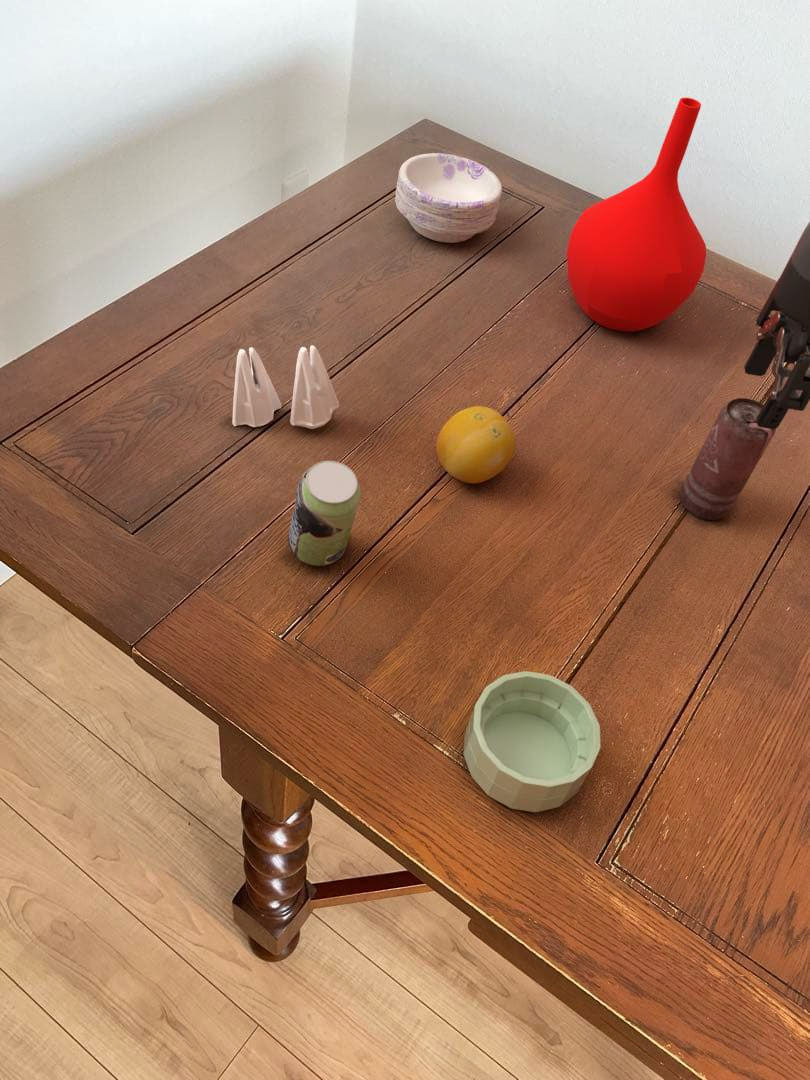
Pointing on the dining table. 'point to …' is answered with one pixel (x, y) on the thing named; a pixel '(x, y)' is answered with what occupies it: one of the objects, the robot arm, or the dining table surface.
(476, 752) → the sage bowl
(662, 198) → the vase
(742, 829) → the dining table surface
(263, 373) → the shaker set
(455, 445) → the fruit
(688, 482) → the can
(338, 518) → the beverage can
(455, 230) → the paper bowls
